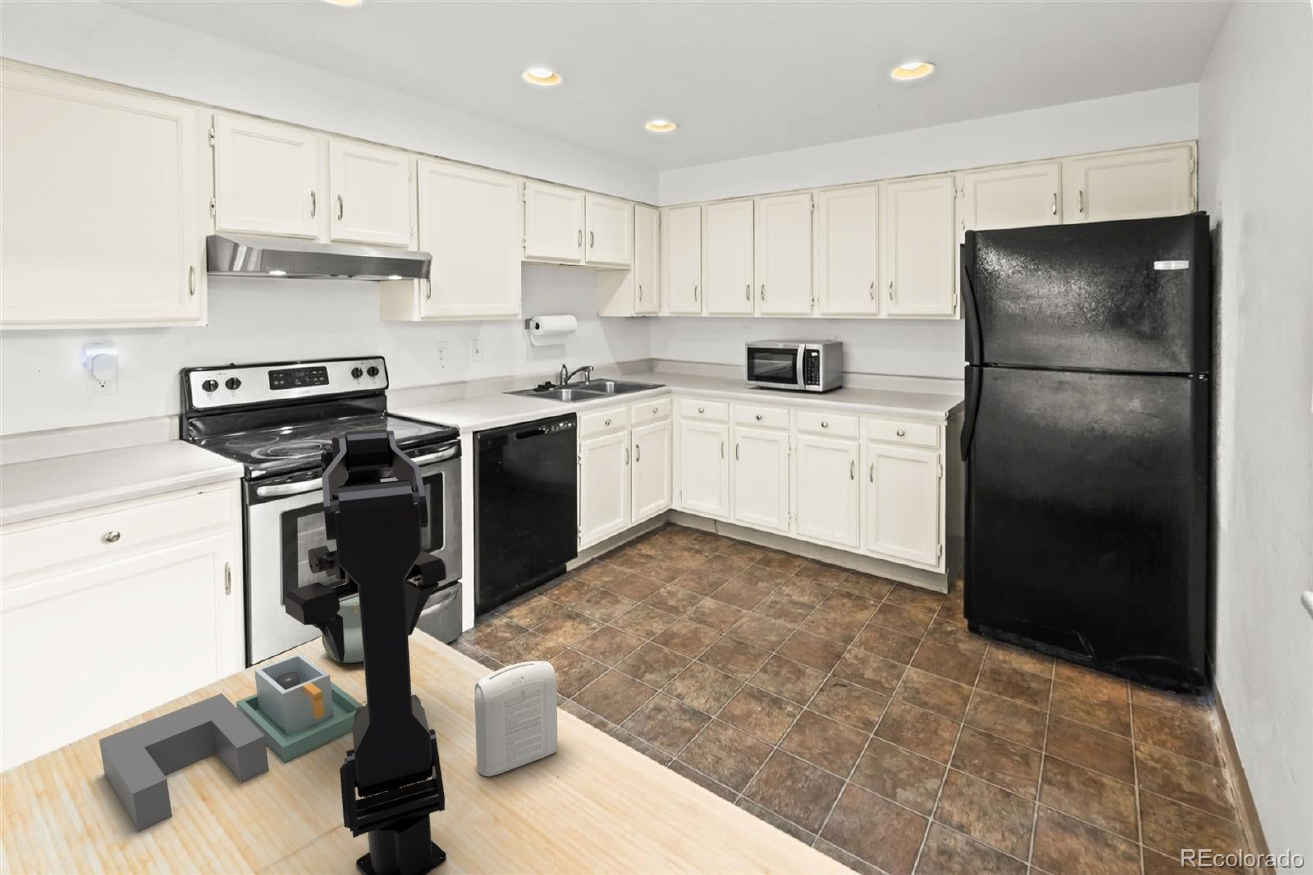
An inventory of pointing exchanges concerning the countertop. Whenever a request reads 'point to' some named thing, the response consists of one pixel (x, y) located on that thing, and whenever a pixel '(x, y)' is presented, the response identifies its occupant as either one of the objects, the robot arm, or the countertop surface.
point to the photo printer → (515, 716)
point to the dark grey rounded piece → (288, 680)
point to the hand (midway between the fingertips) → (375, 647)
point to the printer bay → (178, 754)
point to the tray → (308, 736)
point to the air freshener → (350, 632)
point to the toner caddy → (294, 694)
